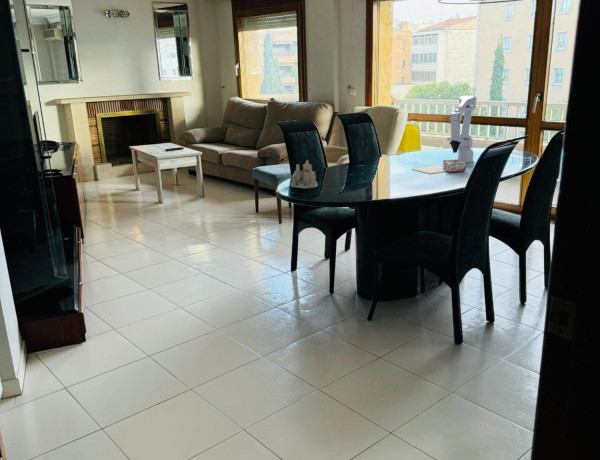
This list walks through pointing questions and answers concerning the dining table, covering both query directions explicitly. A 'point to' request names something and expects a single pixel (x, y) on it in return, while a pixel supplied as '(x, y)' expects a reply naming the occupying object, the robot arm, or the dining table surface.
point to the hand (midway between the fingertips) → (455, 152)
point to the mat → (431, 169)
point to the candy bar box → (454, 165)
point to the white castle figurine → (304, 177)
